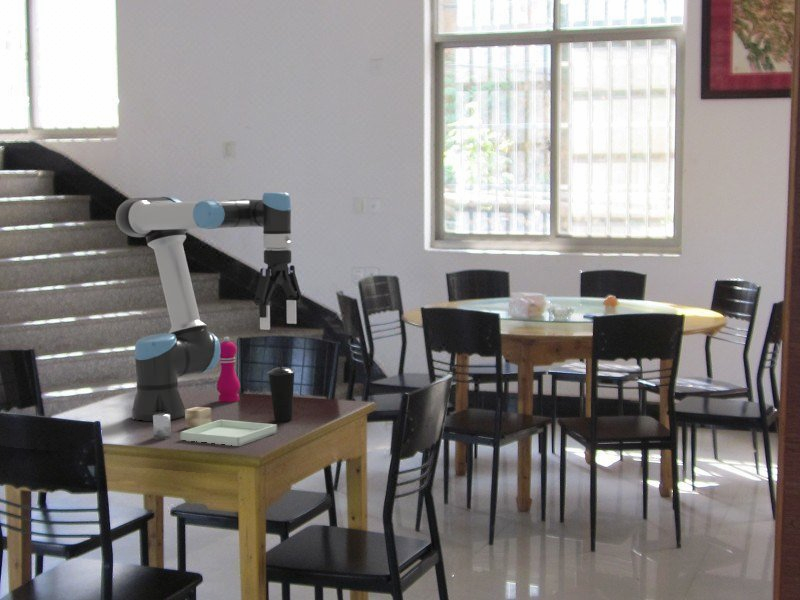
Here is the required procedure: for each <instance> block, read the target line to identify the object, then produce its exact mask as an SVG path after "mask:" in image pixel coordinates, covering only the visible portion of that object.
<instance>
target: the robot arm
mask: <svg viewBox="0 0 800 600" xmlns="http://www.w3.org/2000/svg"><path fill="white" fill-rule="evenodd" d="M291 216H292V205H291V195H290V193H288V192H264V193H262V199H253V198H252V199H249V198H240V199H219V200H218V199H214V200H213V199H205V200H196V201H195V200H193V201H181V200H180V199H178V198H177V197H170V196H169V197H168V196H157V197H153V196H152V197H132V198H128V199H125V200H124V201H123V202H122V203H121V204H120V205H119V206H118V207H117V209H116V213H115V222H116V225H117V227H118V228H119V230H120V231H121V232H123V233H124V234H126V235H127V236H129V237H132V238H133V237H134V238H145V239H146V244H147V246H148V247H149V248H151V249H152V250H153V251H154V255H155V258H156V259H155V260H156V264H157V265H156V266H157V268H158V272H159V278H160V282H161V287H162V291H163V293H164V298H165V303H166V307H167V313H168V316H169V321H170V324H171V328H170V329H169V331H168V332H165V333H164V332H162V333H158V334H150V335H146V336H144V337H141V338H139V339H138V340H137V341H136V342H135V343H134V344H135V345H134V359H135V360H134V361H135V377H136V378H135V379H136V393H135V397H134V401H133V406H132V408H131V419H132V418H134V419H137V420H136V421H138V420H143V421H142V422H153V415H155V414H164V413H165V414H170V421H171V420H176V419H181V418H182V417H185V410H186V406H185V404H184V401H183V398H182V396H181V392H180V390H179V382H178V381H179V379H178V377H179V378H180V377H184V376H191V375H199V374H202V373H205V372H209V371H211V370H213V369H214V368H215V366H216V365H217V364H218V362H219V361H220V359H219V358H220V340H219V338H218V337H217V336H216V335H215V334H214V333H213V332H211V331H209V329H208V325H207V323H205V322H203V321H202V320H201V318H200V314H199V308H198V305H197V300H196V295H195V292H194V287H193V283H192V279H191V274H190V270H189V266H188V261H187V257H186V253H185V250H184V249H185V248H184V242H185V240H186V239H187V234H186V233H187V232H188V231H189V230H191V229H192V230H195V229H198V230H199V229H206V230H214V229H225V228H230V229H231V228H249V227H250V228H251V227H252V228H255V227H256V228H259V227H261V228H263V230H262V233H263V236H262V242H263V246H262V247H263V249H265V250H264V251H263V263H264V264H266V265H267V268H263V267H262V268H260V271H259V273H260V274H259V280H258V283H257V286H256V291H255V295H254V299H253V302H254V304H255V306H259V309H258V311H259V329H260V330H262V331H263V330H266V331H267V330H268V331H269V330H271V309H270V307H271V306H270V305H268V304H269V302H270V299H271V298H272V295H273V292H274V290H275V288H276V287H277V286H278V284H280V285H281V288H282V289H283V291H284V292H285V294H286V297H287V300H286V324H291V325H292V324H294V325H296V324H297V301H300V299H301V297H302V293H301V288H300V286H299V282H298V279H297V276H296V269H295V267H296V266H295V265H294V264H293V265H292V264H291V263H292V250H291V249H290V248H292V235H291V233H292V231H291V230H292V228H291V227H292V222H291V221H292V217H291ZM290 264H291V265H290ZM134 419H133V420H134Z"/></svg>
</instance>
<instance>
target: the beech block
mask: <svg viewBox="0 0 800 600" xmlns="http://www.w3.org/2000/svg"><path fill="white" fill-rule="evenodd" d="M184 418H185V420H184V421H185V428H186V427H190V428H189V429H191V428H195V427H198V426H201V425H204V424H208V423H211V422H213V421H212V408H211V407H203V406H195V407H190V408H187V409H185V416H184Z"/></svg>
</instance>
